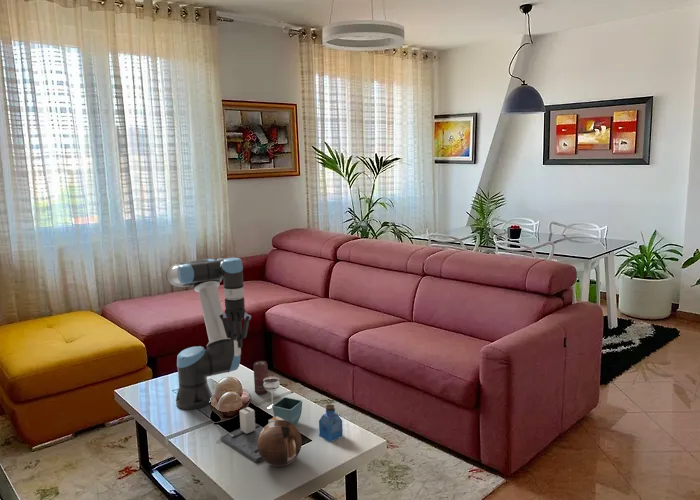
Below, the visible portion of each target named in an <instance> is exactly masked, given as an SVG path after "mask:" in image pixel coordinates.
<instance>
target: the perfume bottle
mask: <svg viewBox="0 0 700 500" xmlns="http://www.w3.org/2000/svg"><path fill="white" fill-rule="evenodd" d="M343 430H344V429H343V419H342V418H341V417H340V415H339V414H337V413H336V408H335V405H334V404H327V405H326V406H325V413H324V414H322V415H321V417H320V418H319V420H318V432H319V437H320V438H322V439H323V440H326V441H328V443H331V442H333V441H336V440H338V439H339V437H340V438H341V437H343V435H344V433H343Z"/></svg>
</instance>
